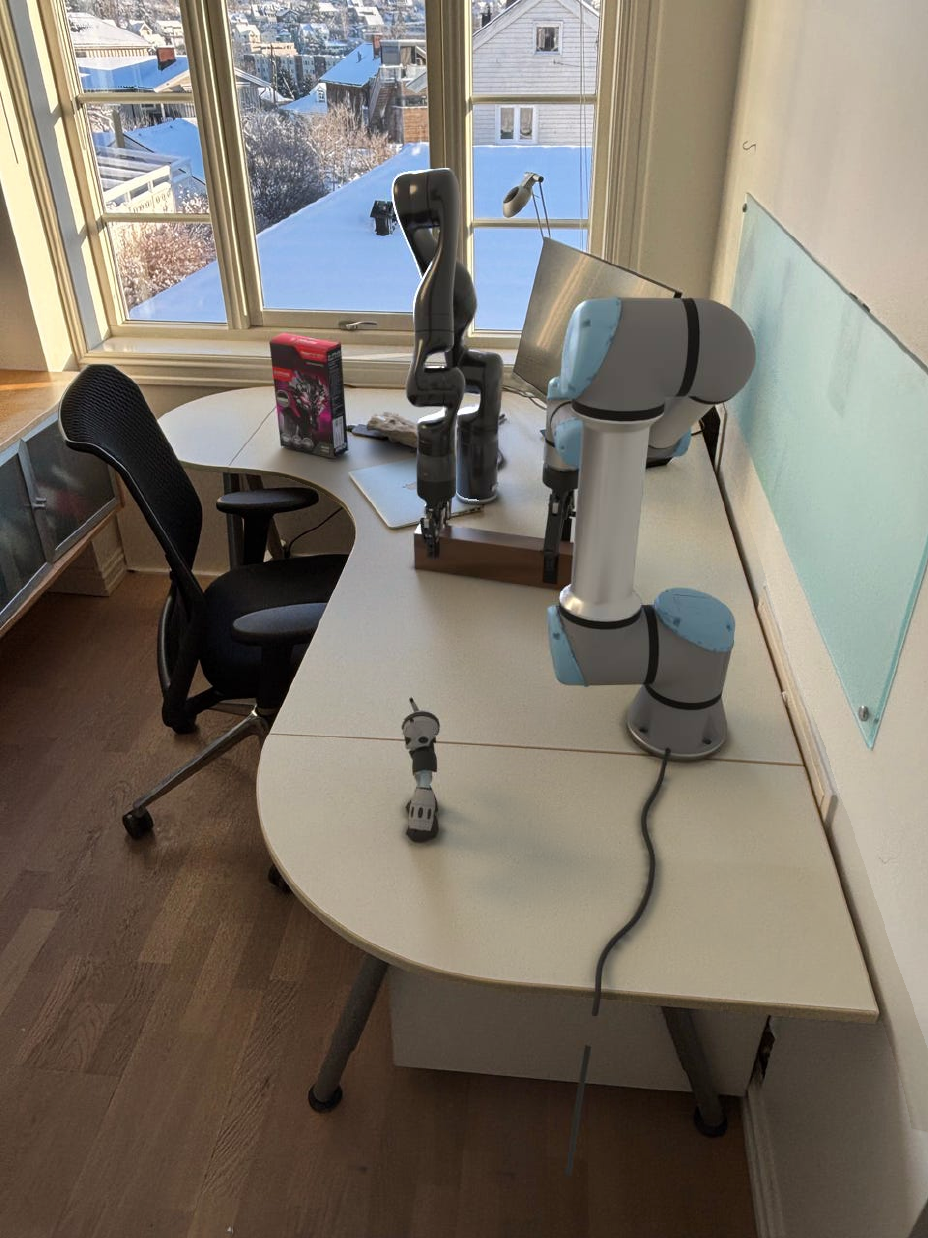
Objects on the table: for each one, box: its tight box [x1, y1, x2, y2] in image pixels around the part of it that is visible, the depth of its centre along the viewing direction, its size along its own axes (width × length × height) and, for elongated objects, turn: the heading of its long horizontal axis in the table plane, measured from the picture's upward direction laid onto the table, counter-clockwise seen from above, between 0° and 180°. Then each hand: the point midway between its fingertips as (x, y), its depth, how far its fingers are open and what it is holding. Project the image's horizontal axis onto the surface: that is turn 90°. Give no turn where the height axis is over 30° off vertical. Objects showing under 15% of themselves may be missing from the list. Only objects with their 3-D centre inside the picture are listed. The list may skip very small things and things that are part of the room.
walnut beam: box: [413, 523, 574, 591], centre depth 180 cm, size 5×32×8 cm, turn 75°
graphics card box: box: [268, 332, 349, 459], centre depth 224 cm, size 17×7×27 cm, turn 62°
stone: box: [365, 411, 418, 449], centre depth 234 cm, size 21×15×6 cm
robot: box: [400, 697, 441, 843], centre depth 121 cm, size 20×5×20 cm, turn 3°
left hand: (437, 550), depth 183 cm, fingers closed on walnut beam, 5 cm apart
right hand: (556, 564), depth 177 cm, fingers open, 13 cm apart
